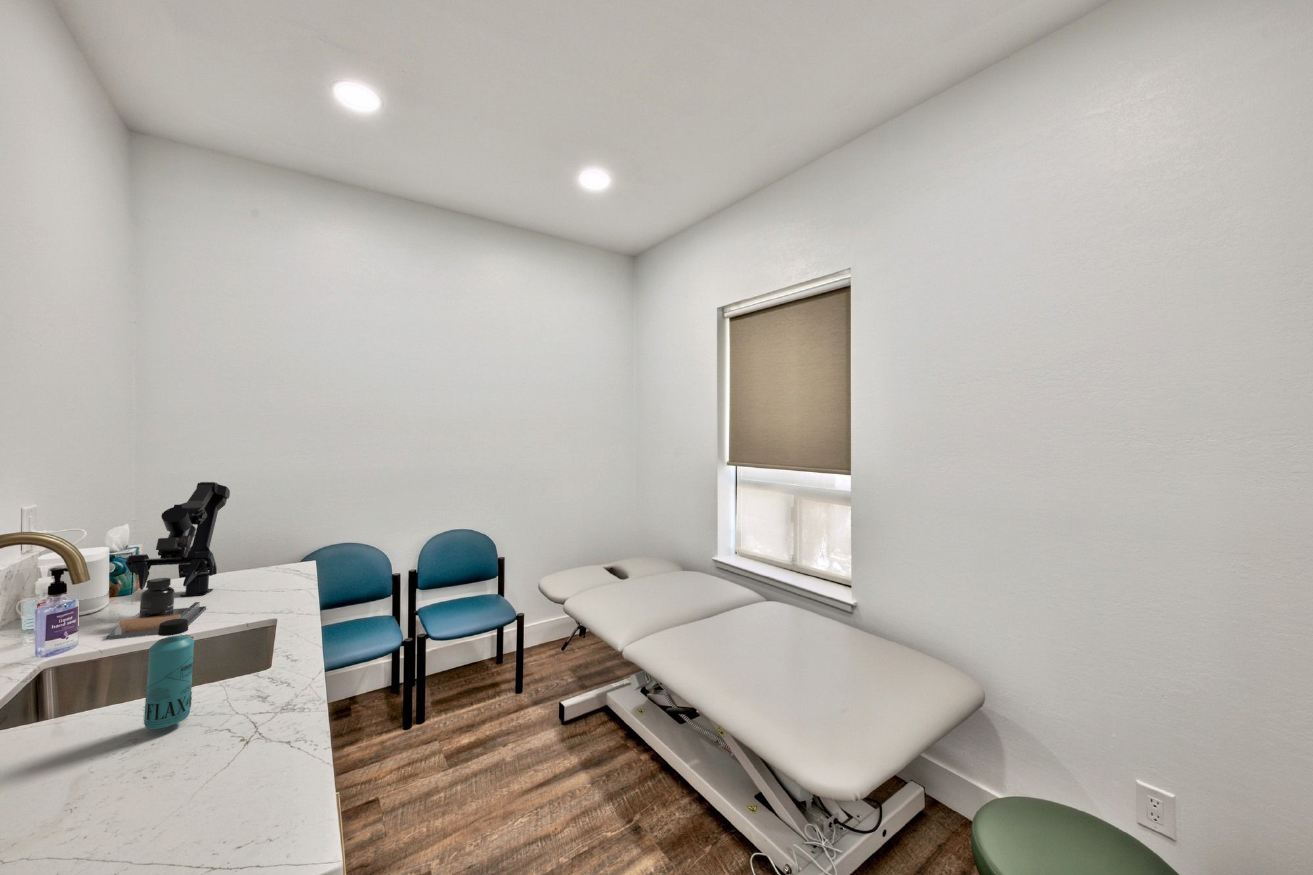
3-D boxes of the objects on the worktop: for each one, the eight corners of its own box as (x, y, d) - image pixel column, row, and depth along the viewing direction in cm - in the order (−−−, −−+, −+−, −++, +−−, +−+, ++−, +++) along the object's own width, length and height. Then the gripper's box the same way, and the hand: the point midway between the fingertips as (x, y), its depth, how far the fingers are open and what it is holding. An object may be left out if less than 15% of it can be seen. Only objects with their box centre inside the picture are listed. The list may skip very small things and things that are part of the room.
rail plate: (140, 615, 148) (140, 601, 148) (205, 609, 155) (206, 596, 155) (106, 639, 130) (107, 624, 130) (182, 631, 137) (183, 617, 137)
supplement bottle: (176, 621, 142) (178, 579, 142) (142, 628, 136) (144, 584, 136) (169, 616, 145) (171, 575, 146) (136, 622, 140) (138, 579, 140)
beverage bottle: (135, 741, 89) (141, 629, 89) (151, 722, 95) (157, 617, 95) (183, 732, 92) (189, 624, 92) (196, 714, 98) (202, 613, 98)
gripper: (130, 527, 143) (108, 575, 134) (214, 525, 152) (199, 569, 142) (140, 548, 150) (121, 596, 140) (220, 545, 159) (207, 589, 149)
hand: (163, 587), depth 143 cm, fingers open, 9 cm apart
